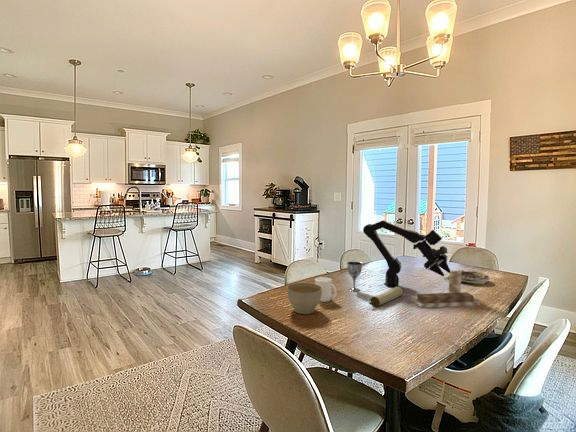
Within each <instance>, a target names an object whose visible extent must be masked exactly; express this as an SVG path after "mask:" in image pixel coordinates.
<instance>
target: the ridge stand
mask: <svg viewBox="0 0 576 432" xmlns="http://www.w3.org/2000/svg"><path fill="white" fill-rule="evenodd" d="M416 295H417V296H416V298H411V300H410V301H411V302H412V303H413V304H415V305H416V306H417V307H419V308H441V307H442V308H443V307H444V308H445V307H446V308H447V307H468V306H469V307H470V306H471V307H473V306H481V305H480V302H479V301H477V300H474V295H472V294H471V293H469V292H461V293H449V292H439V293H417V294H416Z"/></svg>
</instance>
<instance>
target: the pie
mask: <svg viewBox="0 0 576 432" xmlns="http://www.w3.org/2000/svg"><path fill="white" fill-rule="evenodd" d="M455 271H460V272H462V275H461V284H468V285H471V284H472V285H471V286H473V285H474V286H476V285H477V286H478V284H479V285H480V286H484V285H485V284H486V283H487V282H489V280H490V277H489V275H488V274H484V273H482V272H478V271H474V270H472V271H471V270H467V271H466V270H463V269H462V270H461V269H460V270H458V269H457V270H456V269H455ZM449 275H450V273H448V272H447V276H445V277H444V280H445V281H449Z"/></svg>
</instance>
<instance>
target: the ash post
mask: <svg viewBox="0 0 576 432" xmlns="http://www.w3.org/2000/svg"><path fill="white" fill-rule="evenodd" d="M460 271H461V270H460ZM460 271H458V270H457V271H456V270H450V275H449V279H448V293H462V292H461V291H462V290H461V289H462V282H461V275H462V272H460Z"/></svg>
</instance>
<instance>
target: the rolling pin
mask: <svg viewBox="0 0 576 432" xmlns="http://www.w3.org/2000/svg"><path fill="white" fill-rule="evenodd" d="M404 294H405V289H404V288H403V287H402V286H400V285H399V286H398V287H392V288H390V289H389V290H387V291H384V292H382V293H380V294H377V295H372V296H371V297H370V302H369V303H368V305H371V306H372V307H374V308H378V307H379V306H381V305H384V304H386V303H388V302H390V301H393V300H394V299H396V298H398V297H401V296H403V295H404Z"/></svg>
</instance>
